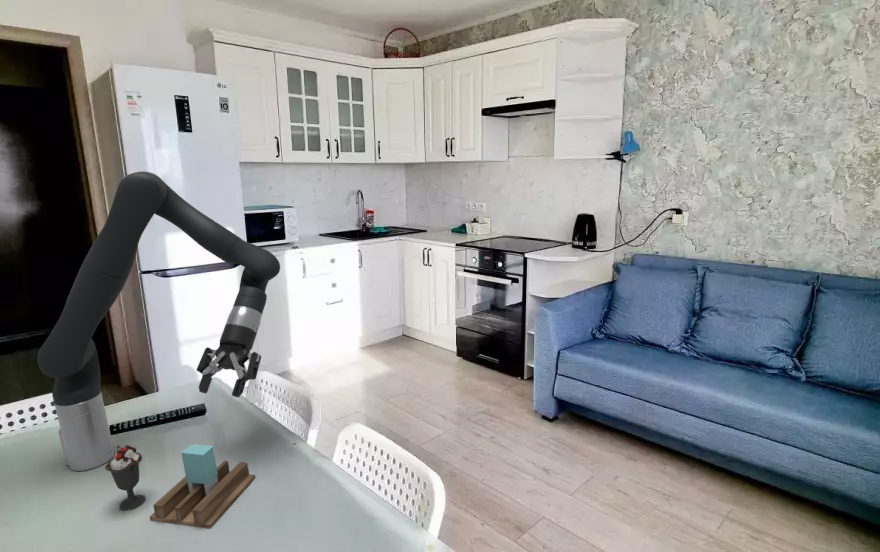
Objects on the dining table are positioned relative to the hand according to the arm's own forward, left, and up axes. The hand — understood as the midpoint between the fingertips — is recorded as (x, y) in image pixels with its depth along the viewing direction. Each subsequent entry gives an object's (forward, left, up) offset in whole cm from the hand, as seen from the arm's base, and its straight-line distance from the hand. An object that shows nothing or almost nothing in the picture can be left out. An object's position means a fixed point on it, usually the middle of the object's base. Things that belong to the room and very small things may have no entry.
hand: (218, 394), depth 113 cm
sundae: (-14, -15, -19) cm, 28 cm away
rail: (+1, -11, -19) cm, 22 cm away
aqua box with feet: (+1, -10, -18) cm, 21 cm away
